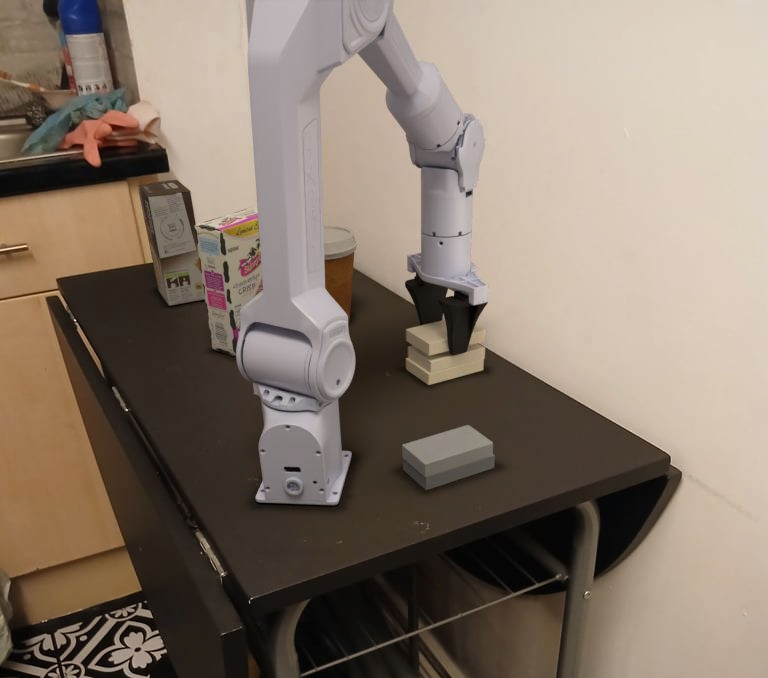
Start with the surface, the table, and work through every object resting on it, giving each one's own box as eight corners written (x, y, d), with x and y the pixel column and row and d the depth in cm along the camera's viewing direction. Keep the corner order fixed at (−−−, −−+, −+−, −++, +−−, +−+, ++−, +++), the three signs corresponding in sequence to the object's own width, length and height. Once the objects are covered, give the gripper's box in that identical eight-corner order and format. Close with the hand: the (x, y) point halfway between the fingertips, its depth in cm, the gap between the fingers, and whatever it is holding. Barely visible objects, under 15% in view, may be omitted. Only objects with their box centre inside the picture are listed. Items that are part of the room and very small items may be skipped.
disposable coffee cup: (336, 336, 108) (331, 248, 102) (281, 324, 113) (272, 239, 106) (373, 314, 115) (370, 229, 108) (320, 303, 119) (313, 221, 112)
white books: (459, 355, 102) (460, 332, 100) (484, 370, 98) (485, 347, 96) (405, 369, 99) (405, 346, 97) (428, 385, 95) (428, 362, 93)
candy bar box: (239, 358, 103) (220, 230, 94) (211, 350, 106) (190, 224, 96) (293, 330, 111) (281, 208, 101) (266, 323, 113) (252, 204, 104)
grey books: (469, 448, 82) (470, 423, 81) (494, 467, 79) (496, 441, 77) (401, 470, 79) (401, 444, 77) (425, 491, 76) (425, 464, 74)
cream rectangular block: (460, 327, 100) (460, 315, 99) (485, 341, 96) (486, 329, 95) (405, 340, 97) (405, 328, 96) (429, 356, 93) (429, 343, 92)
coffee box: (209, 299, 122) (192, 190, 113) (168, 307, 120) (147, 196, 111) (195, 282, 129) (177, 178, 120) (156, 289, 127) (135, 183, 118)
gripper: (514, 239, 85) (506, 357, 93) (442, 211, 96) (441, 319, 103) (459, 250, 82) (456, 371, 90) (391, 220, 93) (394, 330, 101)
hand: (444, 344), depth 97 cm, fingers closed on cream rectangular block, 5 cm apart
